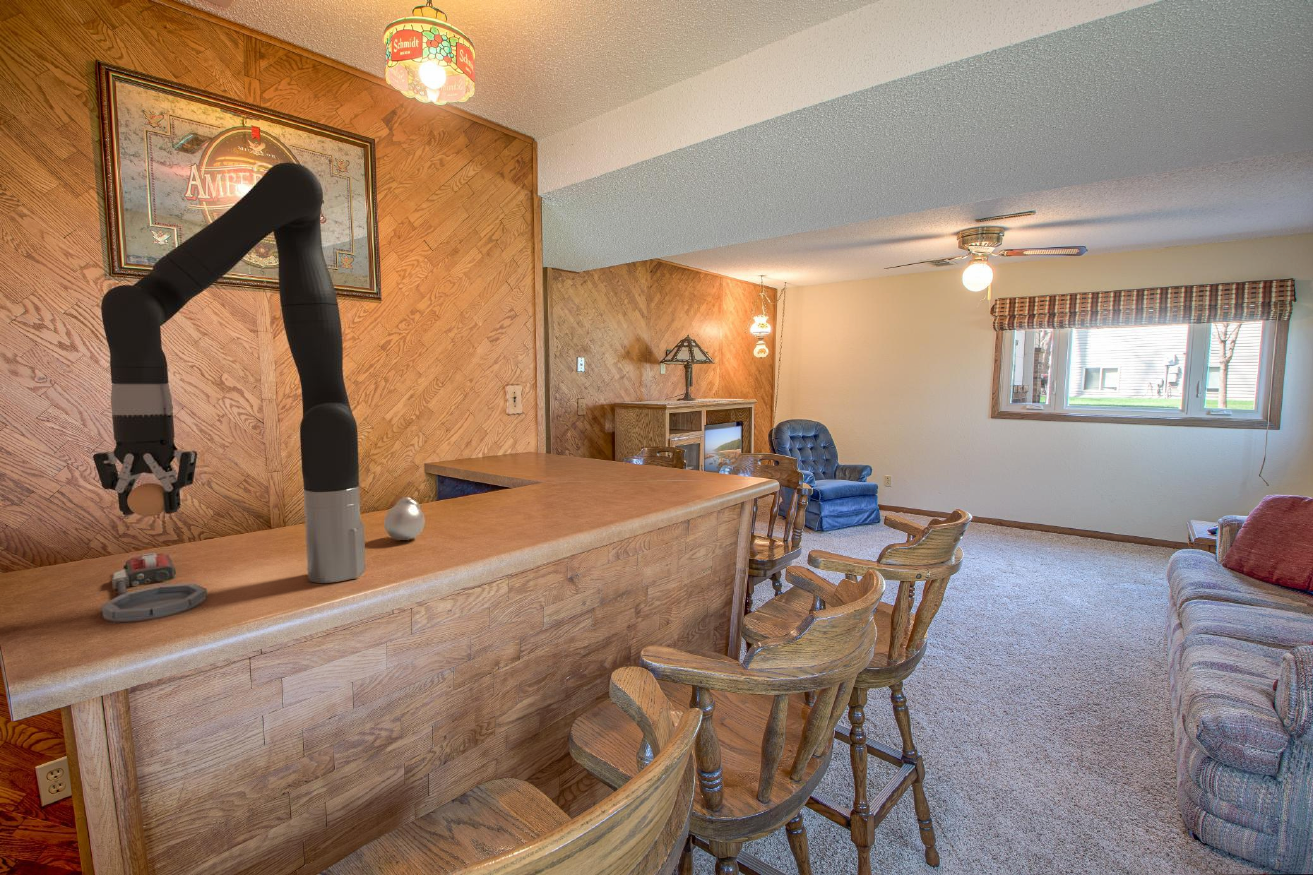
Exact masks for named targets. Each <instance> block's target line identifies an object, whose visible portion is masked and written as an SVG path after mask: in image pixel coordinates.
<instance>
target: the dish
mask: <svg viewBox="0 0 1313 875" xmlns="http://www.w3.org/2000/svg"><path fill="white" fill-rule="evenodd" d="M207 593H208V592H207V588H206V587H204V586H201V585H199V584H197V583H190V582H189V583H175V584H163V585H156V586H150V587H146V588H143V589H139V590H133V591H131V592H130V591H129V592H127V593H125V594H122V595H118V596H116V597H114V598H112V599H110V600H109V601H107V602H105V603H102V605H101V612H102V618H103V619H104V620H106V621H108V622H113V623H133V622H143V621H149V620H155V619H160V618H161V619H162V618H165V617H169V616H173V615H177V614H181V613H184V612H186V611H189V610H191V609H194V608H196V607H197V606H200V605H201V604H203V603H204V602H205V601H206V599H207Z"/></svg>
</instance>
